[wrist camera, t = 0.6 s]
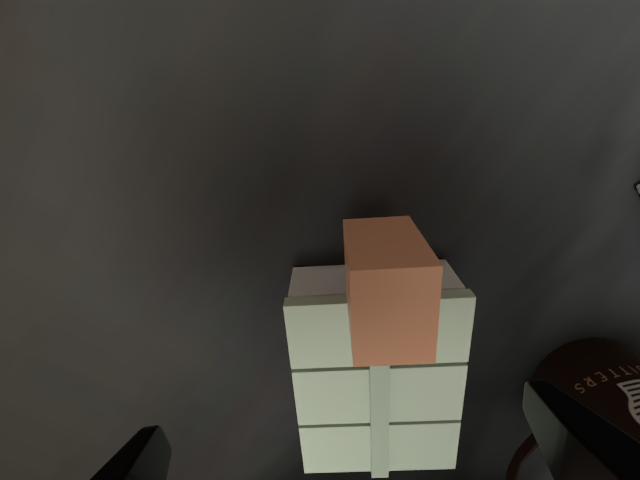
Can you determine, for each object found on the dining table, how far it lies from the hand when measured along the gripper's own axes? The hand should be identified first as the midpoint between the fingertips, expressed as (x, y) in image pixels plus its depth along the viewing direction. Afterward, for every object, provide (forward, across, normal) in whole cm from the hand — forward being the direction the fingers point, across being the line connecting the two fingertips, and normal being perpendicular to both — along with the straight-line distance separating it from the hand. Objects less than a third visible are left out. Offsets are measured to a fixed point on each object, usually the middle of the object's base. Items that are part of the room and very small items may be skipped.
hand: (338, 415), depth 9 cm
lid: (+9, -1, +7) cm, 11 cm away
